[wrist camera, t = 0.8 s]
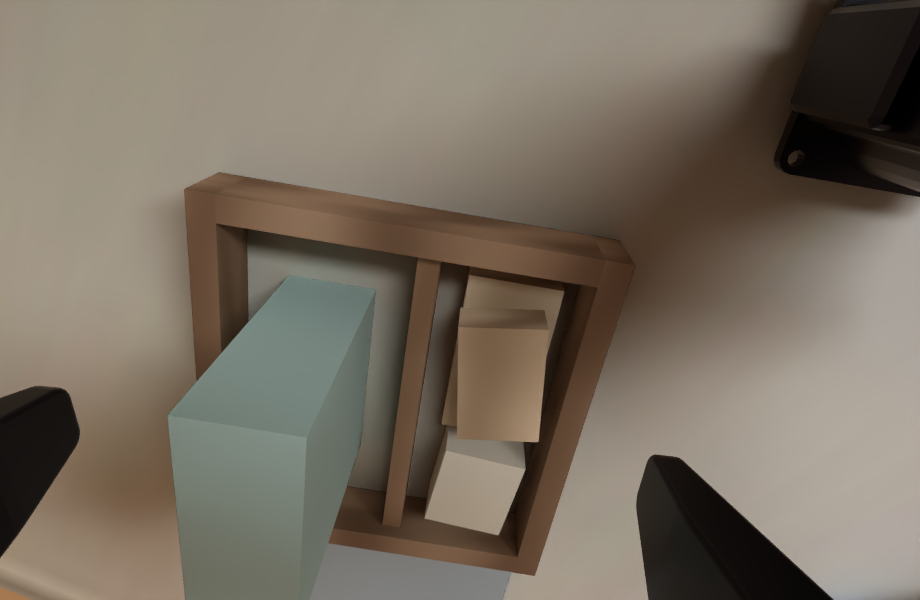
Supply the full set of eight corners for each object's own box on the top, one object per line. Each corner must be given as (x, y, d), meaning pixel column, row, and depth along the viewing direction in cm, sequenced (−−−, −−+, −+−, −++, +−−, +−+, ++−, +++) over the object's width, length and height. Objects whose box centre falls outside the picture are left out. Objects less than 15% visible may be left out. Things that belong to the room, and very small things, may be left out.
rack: (619, 240, 20) (635, 265, 18) (531, 530, 27) (534, 575, 25) (219, 172, 20) (184, 188, 18) (230, 483, 27) (206, 524, 24)
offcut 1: (559, 274, 22) (564, 291, 20) (522, 414, 25) (524, 437, 23) (470, 259, 22) (469, 274, 20) (444, 401, 25) (441, 424, 23)
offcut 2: (544, 310, 21) (548, 330, 19) (535, 416, 23) (538, 442, 21) (460, 307, 21) (458, 327, 19) (459, 414, 23) (456, 439, 21)
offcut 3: (522, 431, 25) (525, 469, 22) (497, 494, 26) (498, 535, 24) (450, 414, 24) (445, 450, 22) (430, 478, 26) (424, 518, 24)
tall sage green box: (376, 289, 22) (306, 437, 14) (360, 443, 25) (297, 635, 17) (289, 275, 22) (167, 415, 14) (285, 431, 25) (187, 618, 17)
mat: (520, 533, 27) (520, 540, 27) (481, 664, 32) (481, 672, 31) (300, 498, 27) (298, 505, 26) (295, 636, 32) (292, 643, 31)
